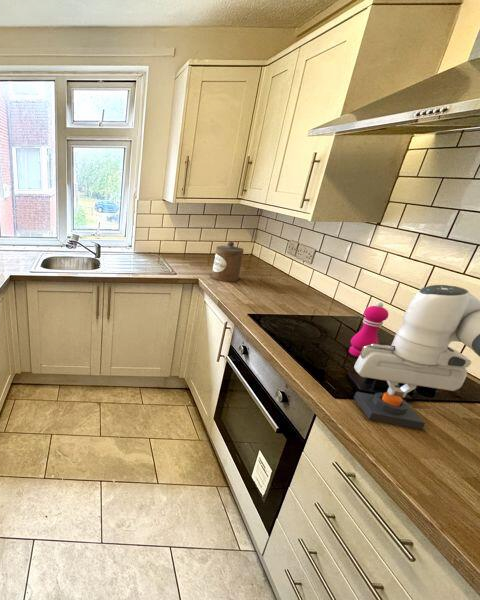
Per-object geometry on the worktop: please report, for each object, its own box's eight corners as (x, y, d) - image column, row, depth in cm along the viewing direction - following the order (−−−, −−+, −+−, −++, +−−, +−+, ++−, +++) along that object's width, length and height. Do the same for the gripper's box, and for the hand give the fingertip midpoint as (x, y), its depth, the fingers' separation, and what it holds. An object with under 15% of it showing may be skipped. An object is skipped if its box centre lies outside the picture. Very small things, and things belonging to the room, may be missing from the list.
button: (395, 399, 84) (397, 393, 84) (403, 407, 81) (405, 402, 80) (378, 396, 85) (381, 390, 85) (385, 404, 82) (388, 399, 81)
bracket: (392, 383, 96) (409, 346, 92) (410, 402, 89) (430, 363, 84) (346, 375, 100) (359, 340, 95) (359, 393, 92) (375, 355, 87)
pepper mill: (371, 352, 113) (392, 301, 105) (375, 362, 107) (398, 308, 99) (345, 347, 116) (364, 296, 108) (348, 356, 110) (368, 303, 103)
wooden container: (207, 274, 198) (213, 239, 189) (231, 274, 198) (238, 239, 189) (217, 281, 184) (223, 244, 176) (242, 281, 184) (250, 244, 176)
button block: (401, 406, 87) (407, 394, 85) (422, 429, 79) (428, 417, 77) (353, 397, 90) (358, 386, 89) (368, 419, 82) (374, 407, 81)
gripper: (371, 348, 77) (353, 394, 82) (481, 363, 71) (454, 411, 76) (359, 336, 83) (343, 380, 88) (460, 349, 77) (436, 395, 82)
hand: (395, 395), depth 82 cm, fingers closed
